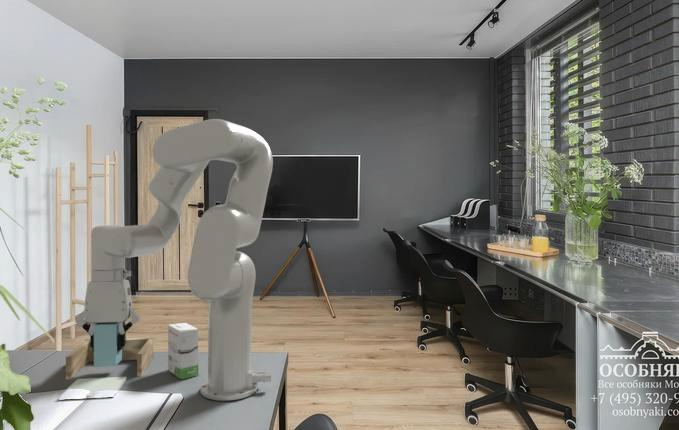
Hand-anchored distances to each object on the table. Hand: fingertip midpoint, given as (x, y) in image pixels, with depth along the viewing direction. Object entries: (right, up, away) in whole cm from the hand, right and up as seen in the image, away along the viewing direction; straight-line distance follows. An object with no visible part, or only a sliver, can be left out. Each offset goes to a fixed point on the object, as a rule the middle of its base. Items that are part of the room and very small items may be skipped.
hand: (108, 348), depth 116 cm
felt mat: (+2, -7, -9) cm, 11 cm away
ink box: (+18, -7, +2) cm, 19 cm away
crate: (-1, -6, +4) cm, 8 cm away
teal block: (0, -4, 0) cm, 4 cm away
